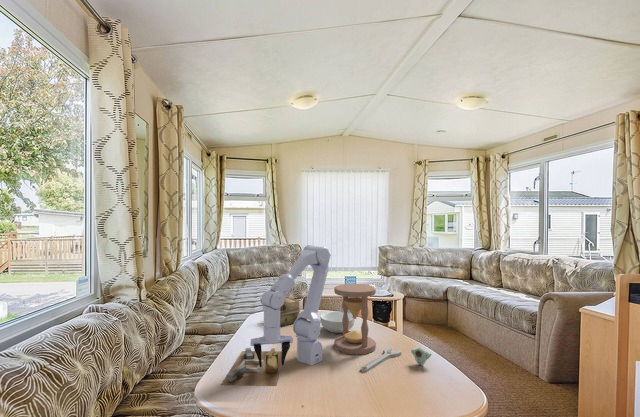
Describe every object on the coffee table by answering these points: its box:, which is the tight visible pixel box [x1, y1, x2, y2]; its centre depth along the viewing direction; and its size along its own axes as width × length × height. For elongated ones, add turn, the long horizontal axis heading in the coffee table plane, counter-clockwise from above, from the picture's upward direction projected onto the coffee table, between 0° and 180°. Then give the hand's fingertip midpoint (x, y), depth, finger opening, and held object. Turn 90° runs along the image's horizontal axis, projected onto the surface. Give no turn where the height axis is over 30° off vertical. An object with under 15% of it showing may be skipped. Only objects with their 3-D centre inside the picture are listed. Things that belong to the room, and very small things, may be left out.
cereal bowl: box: [319, 310, 356, 334], centre depth 167 cm, size 17×17×7 cm
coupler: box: [265, 347, 278, 374], centre depth 119 cm, size 5×4×7 cm
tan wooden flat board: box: [220, 347, 284, 387], centre depth 123 cm, size 18×28×4 cm, turn 179°
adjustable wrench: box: [360, 347, 402, 373], centre depth 132 cm, size 25×6×2 cm, turn 134°
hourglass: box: [333, 283, 377, 355], centre depth 146 cm, size 18×18×25 cm
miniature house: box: [280, 296, 301, 328], centre depth 180 cm, size 15×14×11 cm
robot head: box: [410, 346, 433, 366], centre depth 127 cm, size 8×4×7 cm, turn 52°
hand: (271, 364), depth 119 cm, fingers open, 7 cm apart
